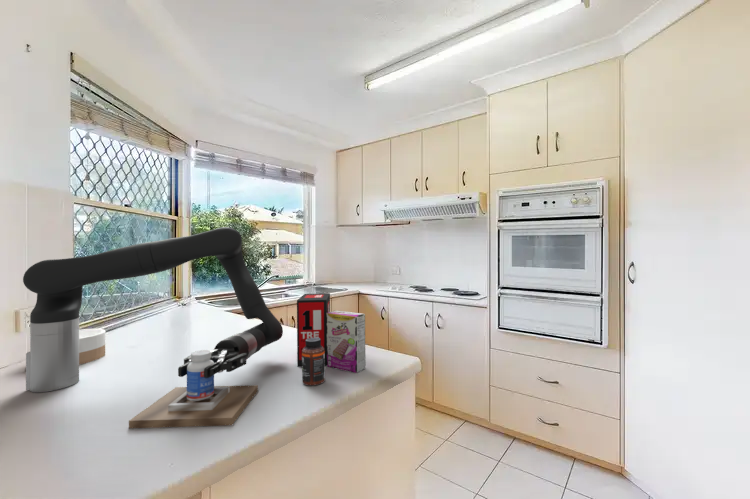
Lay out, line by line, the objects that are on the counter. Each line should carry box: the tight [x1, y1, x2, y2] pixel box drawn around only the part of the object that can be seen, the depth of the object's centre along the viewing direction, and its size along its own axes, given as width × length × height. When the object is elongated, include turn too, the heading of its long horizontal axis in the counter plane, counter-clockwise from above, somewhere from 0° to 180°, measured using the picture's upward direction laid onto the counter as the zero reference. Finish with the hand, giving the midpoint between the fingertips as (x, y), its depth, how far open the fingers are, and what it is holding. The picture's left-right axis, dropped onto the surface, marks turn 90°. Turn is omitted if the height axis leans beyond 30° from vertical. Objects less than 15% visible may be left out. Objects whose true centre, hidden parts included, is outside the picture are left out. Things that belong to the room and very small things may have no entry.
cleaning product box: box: [296, 292, 331, 368], centre depth 107 cm, size 16×9×20 cm, turn 4°
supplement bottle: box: [301, 338, 326, 386], centre depth 86 cm, size 6×6×11 cm
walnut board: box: [128, 384, 259, 429], centre depth 72 cm, size 20×16×3 cm
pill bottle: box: [186, 349, 215, 401], centre depth 72 cm, size 6×5×10 cm
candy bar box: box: [326, 309, 366, 374], centre depth 96 cm, size 11×5×16 cm, turn 59°
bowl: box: [79, 328, 106, 366], centre depth 107 cm, size 17×17×8 cm
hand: (192, 372), depth 70 cm, fingers open, 5 cm apart
